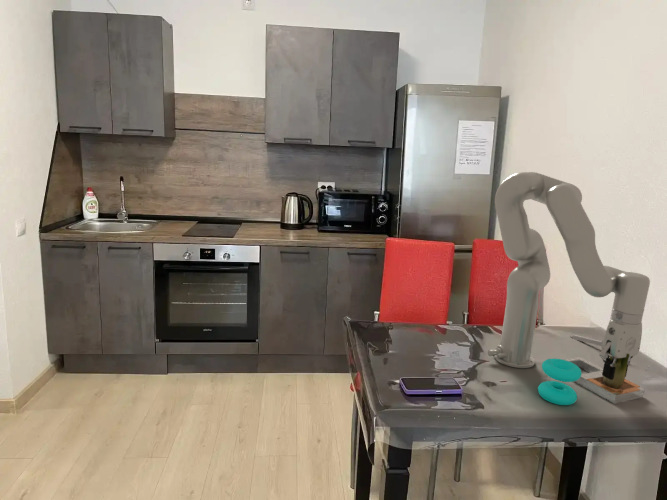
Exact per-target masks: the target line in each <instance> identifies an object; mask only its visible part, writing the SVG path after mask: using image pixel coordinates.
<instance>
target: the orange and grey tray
mask: <svg viewBox="0 0 667 500" xmlns="http://www.w3.org/2000/svg"><path fill="white" fill-rule="evenodd" d="M563 360H566V361H569V362H572V363H574V364H575V365H577V366H578V367H579V368H580V370H581V369H582V370H583V371H585V372H587V373H582V375H581V377H580V378H579V379H578V380H576V381H574V383H576V384H578V385H580V386H581V387H583V388H586V389H587V390H589V391H591V392H592V393H595V394H596V395H598V396H599V397H601V398H603V399H605V400H606V399H607V400H606V401H608V400H609V402H610V403H612V404H613V405H614V404H620V403H624V402H629V401H632V400H637V399H643V398H644V395H645V390H646V389H645V388H643V387H641V385H638V384H637V383H635V382H632V381H630V380H628V379H626V378H625V379H624V381H623V384H622V386H621V387H620V389H613V388H610V387H608V386H607V385H606V384H605V383H604V381H603V378H604V376H603V375H602V372H603V367H601V366H599V365H598V364H595V363H594V362H592V361H589V360H587V359H586V358H584V357H581V356H577V357H571V358H566V359H565V358H564V359H563Z"/></svg>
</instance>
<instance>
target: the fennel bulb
mask: <svg viewBox="0 0 667 500" xmlns="http://www.w3.org/2000/svg"><path fill="white" fill-rule="evenodd" d="M629 355H630V354H627V356H626V357H625V358H618V359H617V360H616V363H615V365H614V366H615V367H616V368H615V373H614V378H613V380H610V379H608V378H606V377H604V378H603V381H604V383H605V384H606V385H607V386H608V387H610V388H613V389H620V387H621V386H622V384H623V381H624V379H626V377H625V375H626V376H627V374H626V368H627V363H628V359H629ZM609 358H610V359H611V361H612V358H613V357H611V356H610V357H609Z"/></svg>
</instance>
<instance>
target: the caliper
mask: <svg viewBox="0 0 667 500" xmlns="http://www.w3.org/2000/svg"><path fill="white" fill-rule="evenodd" d="M569 336H570V338H572V339H573V338H574V339H573V340H575V339H576V340H575V341H580V342H583V343H584V342H585V343H587V344H592V345H596V346H599V347H602V346H603V341H604V340H597V339H594V338H591V337H585V336H582V335H581V336H580V335H576V334H572V335H569Z"/></svg>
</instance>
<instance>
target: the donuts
mask: <svg viewBox="0 0 667 500" xmlns="http://www.w3.org/2000/svg"><path fill="white" fill-rule="evenodd" d="M541 369H542V372H543V373H544V374H545V375H546V376H548V377H549V378H551V379H553V380H545V381H542V382H541V383H540V384H539V385H538V386H537V392H538V394H539V396H540V397H541V398H542V399H543V400H545V401H547V402H549V403H551V404H554V405H557V406H571V405H573V404H574V403H576V402H577V399H578V395H577V392H576V391H575V389H574V388H572V387H571V386H570V385H568V384H566V383H572V382H574V381H576V380H578V379H579V378H580V377H581V375H582V374H583V373H582V370H581V368H580V367H578V366H577V365H575V364H574V363H572V362H569V361H566V360H564V359H561V358H555V357H554V358H547V359H545V360H544V361H543V362H542V363H541ZM574 383H575V382H574Z"/></svg>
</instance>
